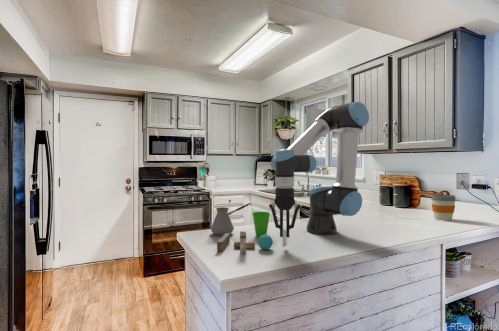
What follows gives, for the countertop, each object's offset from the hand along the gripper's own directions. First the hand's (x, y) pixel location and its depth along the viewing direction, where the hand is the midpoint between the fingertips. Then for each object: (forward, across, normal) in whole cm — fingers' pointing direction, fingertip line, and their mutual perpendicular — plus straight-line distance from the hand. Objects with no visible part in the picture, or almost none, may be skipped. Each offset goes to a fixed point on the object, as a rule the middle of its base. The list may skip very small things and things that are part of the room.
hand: (284, 245), depth 115 cm
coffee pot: (+2, -27, +23) cm, 36 cm away
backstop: (+2, -26, 0) cm, 26 cm away
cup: (+2, -12, +21) cm, 24 cm away
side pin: (+2, -16, -7) cm, 18 cm away
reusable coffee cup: (+2, +96, +76) cm, 122 cm away
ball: (-1, -8, -1) cm, 8 cm away
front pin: (+1, -12, 0) cm, 12 cm away
